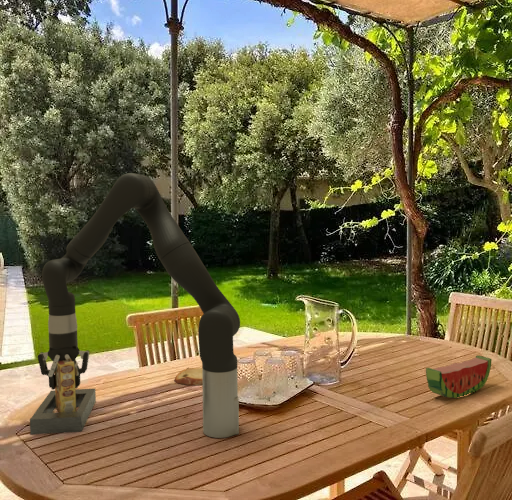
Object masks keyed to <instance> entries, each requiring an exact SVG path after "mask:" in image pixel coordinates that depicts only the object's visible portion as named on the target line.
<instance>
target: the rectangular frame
mask: <svg viewBox="0 0 512 500" xmlns="http://www.w3.org/2000/svg"><path fill="white" fill-rule="evenodd" d="M75 393H76V408H77V409H76V411H75V412H58V411H57V412H54V411H55V409H56V396H55V389H54V390H50V391H49V393H48V394H47V395H46V397H45V399H44V400H43V401H42V402H41V403H40V405H39V406H38V408H37V409H36V411H35V412H34V414H33V415H32V416H31V417H30V419H29V426H30V427H29V429H30V430H29V432H30V435H43V434H45V435H46V434H63V433H77V432H78V433H79V432H80V433H81V432H83V430H84V428H85V425H86V424H87V422H88V420H89V417H90V415H91V413H92V410H93V409H94V405H95V404H96V397H97V396H96V395H97V394H96V388H81V389H79V388H75Z"/></svg>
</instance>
